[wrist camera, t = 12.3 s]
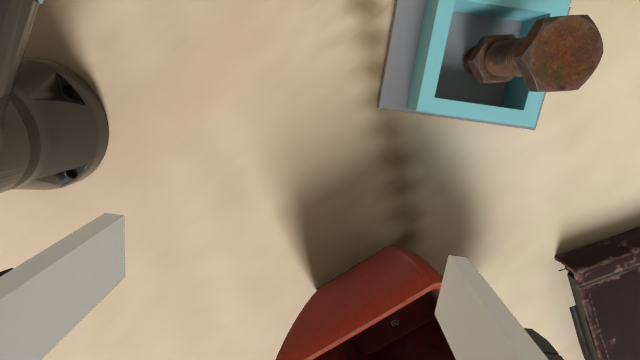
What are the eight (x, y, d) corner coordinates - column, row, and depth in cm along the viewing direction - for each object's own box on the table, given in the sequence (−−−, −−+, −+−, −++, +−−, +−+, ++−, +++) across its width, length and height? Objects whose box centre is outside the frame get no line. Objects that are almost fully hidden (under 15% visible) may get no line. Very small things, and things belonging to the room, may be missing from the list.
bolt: (481, 95, 41) (569, 108, 27) (442, 74, 41) (512, 76, 26) (511, 46, 40) (621, 31, 25) (471, 23, 39) (562, -5, 25)
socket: (377, 107, 43) (385, 111, 37) (398, -15, 40) (411, -33, 33) (528, 128, 43) (561, 136, 37) (561, 9, 40) (605, -4, 34)
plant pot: (477, 318, 50) (548, 432, 34) (359, 382, 53) (373, 514, 37) (404, 209, 46) (445, 278, 30) (281, 284, 50) (259, 384, 33)
